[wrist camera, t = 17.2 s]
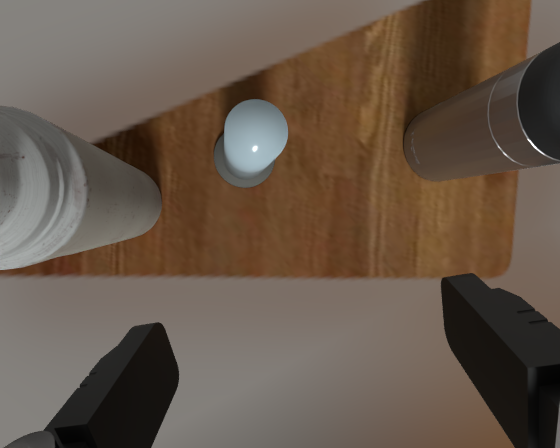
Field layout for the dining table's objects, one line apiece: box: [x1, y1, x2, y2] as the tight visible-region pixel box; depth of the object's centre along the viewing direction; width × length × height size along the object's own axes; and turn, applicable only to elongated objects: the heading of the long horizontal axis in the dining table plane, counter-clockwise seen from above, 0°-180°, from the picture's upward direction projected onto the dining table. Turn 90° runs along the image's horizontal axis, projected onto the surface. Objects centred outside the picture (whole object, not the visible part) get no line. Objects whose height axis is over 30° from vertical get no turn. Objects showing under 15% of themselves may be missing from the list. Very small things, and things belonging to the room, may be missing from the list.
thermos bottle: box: [0, 106, 162, 270], centre depth 25 cm, size 8×8×28 cm
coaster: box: [214, 134, 275, 188], centre depth 41 cm, size 7×7×1 cm
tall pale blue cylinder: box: [223, 99, 288, 180], centre depth 34 cm, size 5×5×13 cm
